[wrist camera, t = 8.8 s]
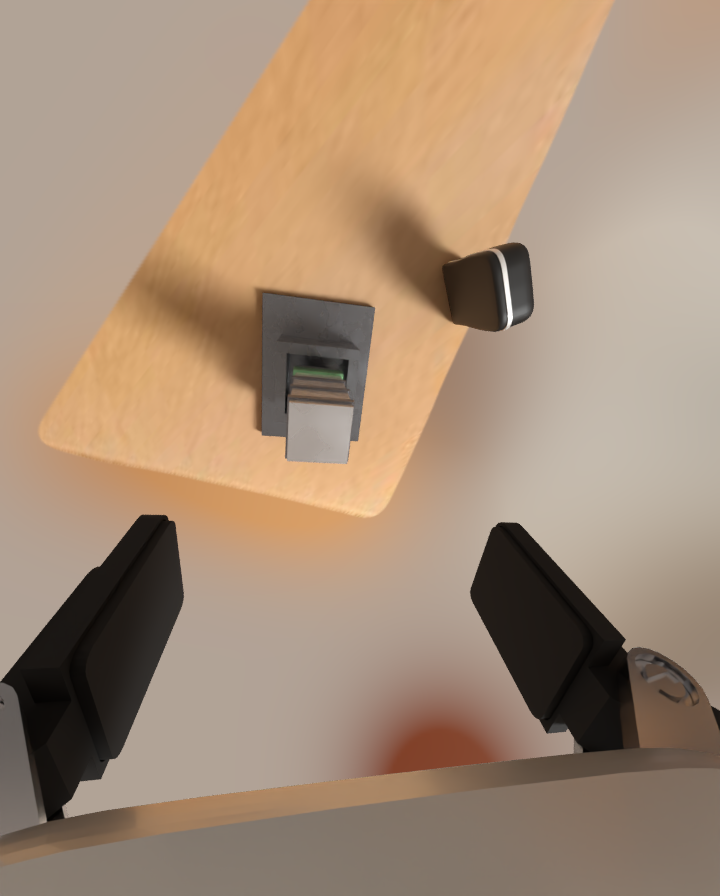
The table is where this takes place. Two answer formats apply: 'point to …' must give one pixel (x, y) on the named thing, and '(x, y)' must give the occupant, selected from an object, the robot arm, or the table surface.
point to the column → (318, 416)
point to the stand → (311, 351)
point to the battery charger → (490, 288)
